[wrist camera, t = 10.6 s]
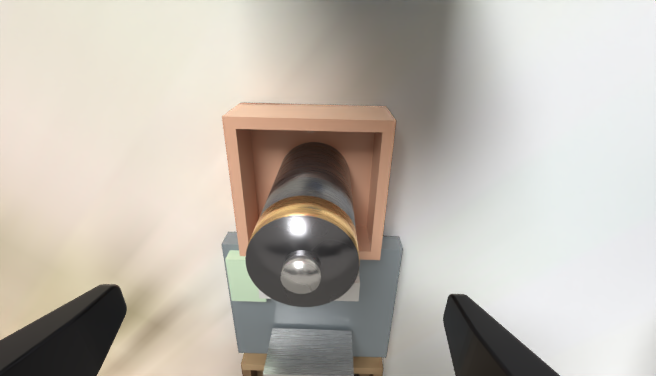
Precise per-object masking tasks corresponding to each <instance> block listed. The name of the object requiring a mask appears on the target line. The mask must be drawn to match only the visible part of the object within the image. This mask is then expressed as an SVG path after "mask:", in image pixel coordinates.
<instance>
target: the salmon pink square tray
mask: <svg viewBox="0 0 656 376" xmlns="http://www.w3.org/2000/svg"><path fill="white" fill-rule="evenodd" d="M222 121H223V129H224V136H225V144H226V152H227V160H228V168H229V175H230V183H231V191H232V199H233V206H234V214H235V222H236V230H237V238H238V245H239V253H240V256H246V250H247V246H248V243H249V241H250V238H251V236H252V234H253V231H254V229H255V226H256V224H257V222H258V220H259V218H260V215H261V213H262V210H263V208H264V206H265V203H266V201H267V198H268V196H269V193H270V191H271V188H272V186H273V183H274V181H275V178H276V176H277V173H278V171H279V168H280V166H281V164H282V161H283V159H284V158H285V156H286V155H287V154H288V152H289V151H291V150H292V149H293V148H295V147H296V146H298V145H301V144H304V143H308V142H320V143H324V144H327V145H330V146H332V147H334V148H335V149H336V150H338V151H339V152H340V153H341V154H342V155H343V156H344V158H345V160H346V161H347V164H348V167H349V171H350V180H351V190H352V199H353V208H354V218H355V227H356V233H357V240H358V249H359V258H360V260H380V256H381V247H382V239H383V230H384V221H385V213H386V204H387V196H388V187H389V178H390V170H391V161H392V153H393V144H394V135H395V127H396V120H395V118H394V117H393V115H392V114H391V113H390V111H389V110H388V108H387V107H386V106H357V105H316V104H275V103H240V104H238V105H237V106H235V107H234V108H233V109H231V110H230V111H229V112H227V113H226V114H225V115H223V116H222Z"/></svg>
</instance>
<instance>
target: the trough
mask: <svg viewBox="0 0 656 376" xmlns="http://www.w3.org/2000/svg"><path fill="white" fill-rule="evenodd" d="M266 357H267V354H262V353H244V355H243V359H242V362H241V368H242V374H243V376H263V371H264V366H265V362H266ZM353 368H354V374H359V375H360V376H382V373H383V364H382V357H356V356H353Z"/></svg>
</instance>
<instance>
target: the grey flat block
mask: <svg viewBox="0 0 656 376" xmlns="http://www.w3.org/2000/svg"><path fill="white" fill-rule="evenodd" d="M222 250H223V256H224V262H225V269H226V275H227V282H228V288H229V294H230V301H231V307H232V313H233V320H234V326H235V332H236V339H237V345H238V352H239V353H262V354H267V352H268V347H269V343H270V338H271V333H272V329H273V328H285V329H317V330H349V331H352V349H353V356H356V357H386V356H387V349H388V343H389V336H390V329H391V323H392V316H393V310H394V303H395V297H396V290H397V284H398V277H399V271H400V264H401V258H402V251H403V248H402V245H401V242H400V239H399V237H391V236H383V239H382V247H381V256H380V260H360V266H359V271H358V275H357V278H356V280H355V282H354V284H353V285H352V287H351V288H350V289H349V290H348V291H347V292H346V293H345V294H344V295H342V296H341V297H340V298H338V299H336V300H334V301H332V302H330V303H327V304H324V305H320V306H314V307H296V306H290V305H286V304H283V303H280V302H278V301H275V300H273V299H271V298H270V297H268V296H267V295H265V294H264V293H263V292H261V291H260V290H259V289H258V288H257V287H256V286H255V284H254V283H253V282H252V280H251V278H250V276H249V274H248V272H247V268H246V260H245V257H246V256H240V253H239V245H238V238H237V232H228V233H227V235H226V237H225V239H224V241H223V243H222Z"/></svg>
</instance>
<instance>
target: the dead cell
mask: <svg viewBox="0 0 656 376" xmlns="http://www.w3.org/2000/svg"><path fill="white" fill-rule="evenodd" d="M245 260H246V268H247V272H248V274H249V276H250V278H251V280H252V282H253V283H254V284H255V286H256V287H257V288H258V289H259V290H260V291H261V292H263V293H264V294H265V295H267V296H268V297H270V298H271V299H273V300H275V301H278V302H280V303H283V304H286V305H290V306H296V307H314V306H320V305H324V304H327V303H330V302H332V301H334V300H336V299H338V298H340V297H341V296H342V295H344V294H345V293H346V292H347V291H348V290H349V289H350V288H351V287H352V285H353V284H354V282H355V280H356V278H357V275H358V271H359V266H360V258H359V249H358V240H357V233H356V227H355V218H354V208H353V199H352V190H351V180H350V171H349V167H348V164H347V161H346V160H345V158H344V156H343V155H342V154H341V153H340V152H339V151H338V150H336V149H335V148H334V147H332V146H330V145H327V144H324V143H320V142H308V143H304V144H301V145H298V146H296V147H295V148H293V149H292V150H291V151H289V152H288V154H287V155H286V156H285V158H284V159H283V161H282V164H281V166H280V168H279V171H278V173H277V176H276V178H275V181H274V183H273V186H272V188H271V191H270V193H269V196H268V198H267V201H266V203H265V206H264V208H263V210H262V213H261V215H260V218H259V220H258V222H257V224H256V226H255V229H254V231H253V234H252V236H251V238H250V241H249V243H248V246H247V250H246V257H245Z"/></svg>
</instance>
